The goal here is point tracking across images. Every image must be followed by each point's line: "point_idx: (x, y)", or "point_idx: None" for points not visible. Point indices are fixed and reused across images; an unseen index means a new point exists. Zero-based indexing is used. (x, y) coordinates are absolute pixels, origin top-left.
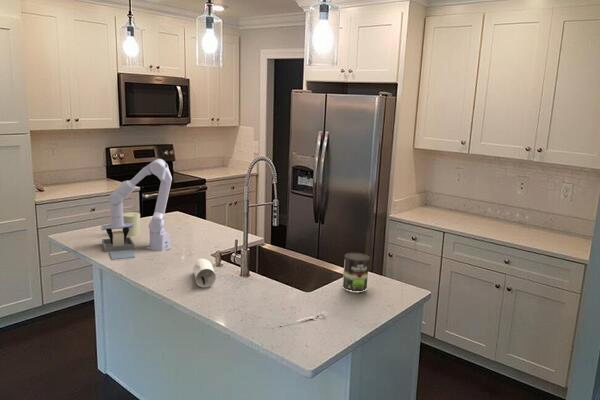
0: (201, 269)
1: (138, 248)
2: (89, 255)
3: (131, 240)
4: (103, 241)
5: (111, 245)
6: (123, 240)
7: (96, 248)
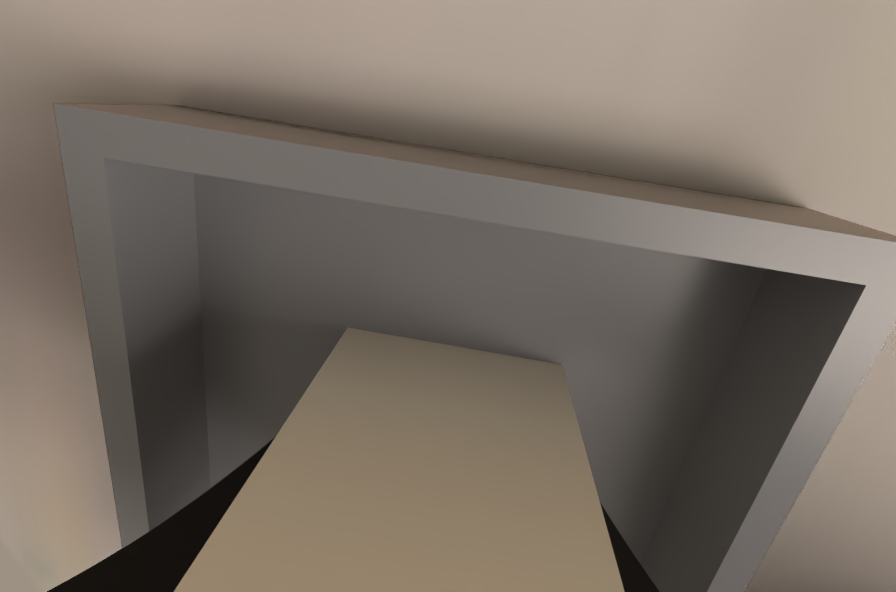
0: None
1: None
2: (5, 529)
3: (745, 558)
4: (110, 335)
5: (339, 319)
6: None
7: (76, 279)
